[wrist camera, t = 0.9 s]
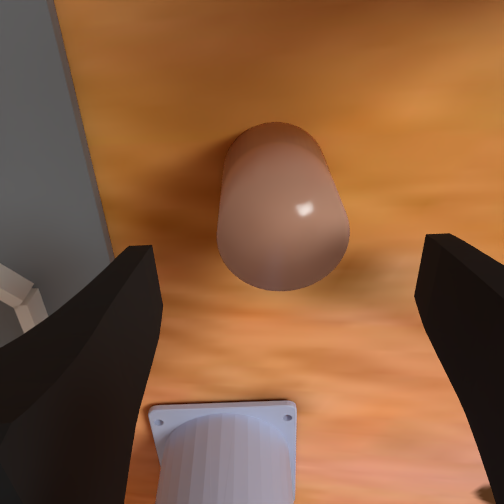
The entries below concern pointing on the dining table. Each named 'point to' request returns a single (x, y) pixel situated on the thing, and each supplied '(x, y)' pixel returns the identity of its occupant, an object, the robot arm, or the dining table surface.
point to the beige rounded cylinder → (279, 210)
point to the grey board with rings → (43, 174)
